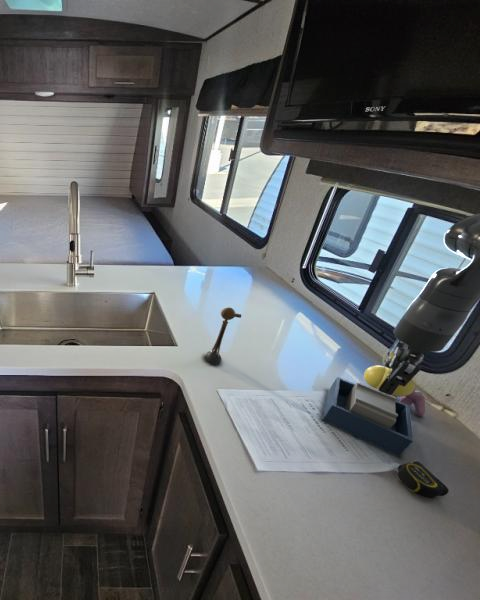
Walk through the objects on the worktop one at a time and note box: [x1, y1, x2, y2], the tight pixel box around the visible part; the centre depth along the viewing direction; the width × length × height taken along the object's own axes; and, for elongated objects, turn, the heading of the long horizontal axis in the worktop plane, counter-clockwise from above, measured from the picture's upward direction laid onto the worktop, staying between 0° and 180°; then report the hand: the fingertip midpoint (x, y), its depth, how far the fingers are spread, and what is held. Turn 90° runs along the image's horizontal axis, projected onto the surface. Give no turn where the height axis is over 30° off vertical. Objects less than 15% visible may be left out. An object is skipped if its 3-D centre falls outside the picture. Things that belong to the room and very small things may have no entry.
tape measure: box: [396, 460, 449, 499], centre depth 69 cm, size 7×7×4 cm
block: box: [344, 381, 398, 429], centre depth 83 cm, size 8×10×9 cm
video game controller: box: [392, 388, 426, 417], centre depth 89 cm, size 10×5×7 cm, turn 65°
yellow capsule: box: [363, 364, 416, 397], centre depth 70 cm, size 8×5×5 cm, turn 51°
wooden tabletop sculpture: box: [204, 306, 242, 366], centre depth 98 cm, size 6×5×20 cm
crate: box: [322, 376, 414, 457], centre depth 83 cm, size 16×14×6 cm
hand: (384, 384), depth 71 cm, fingers closed on yellow capsule, 5 cm apart
